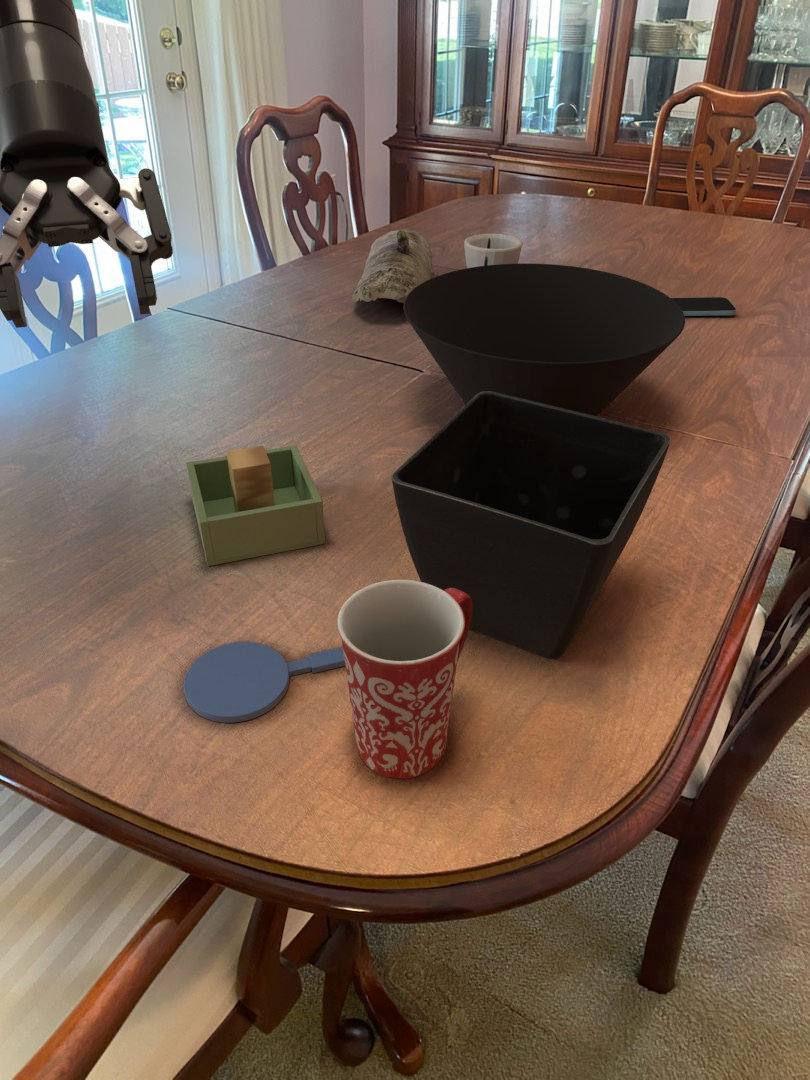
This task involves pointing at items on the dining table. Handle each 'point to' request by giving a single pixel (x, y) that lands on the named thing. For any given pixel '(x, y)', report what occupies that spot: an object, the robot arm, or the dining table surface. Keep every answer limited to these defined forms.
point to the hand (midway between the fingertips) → (83, 316)
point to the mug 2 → (491, 250)
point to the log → (395, 266)
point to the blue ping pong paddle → (247, 679)
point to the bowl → (542, 331)
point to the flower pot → (525, 512)
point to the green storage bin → (256, 510)
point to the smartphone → (705, 306)
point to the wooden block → (250, 478)
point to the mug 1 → (402, 671)
